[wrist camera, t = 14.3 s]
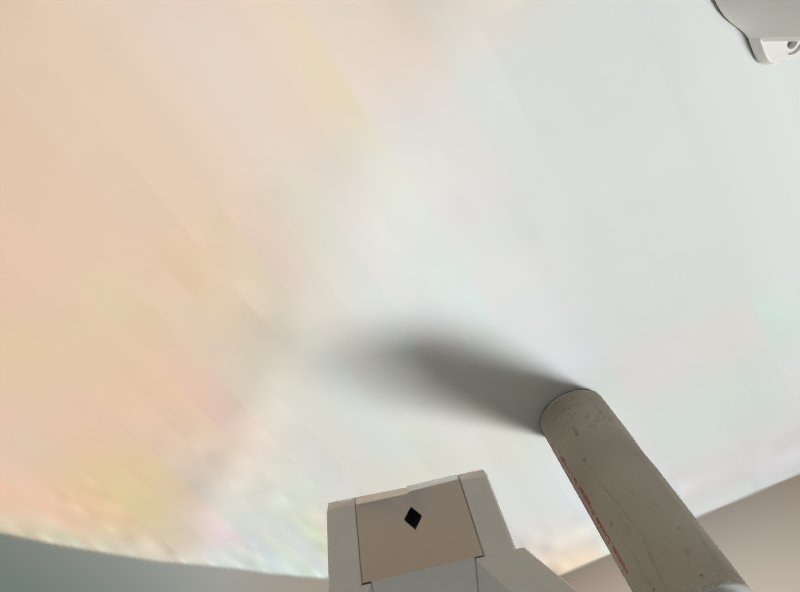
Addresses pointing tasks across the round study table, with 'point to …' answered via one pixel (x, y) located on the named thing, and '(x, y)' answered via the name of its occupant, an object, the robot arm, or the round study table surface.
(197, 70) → the round study table surface
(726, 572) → the thermos bottle
